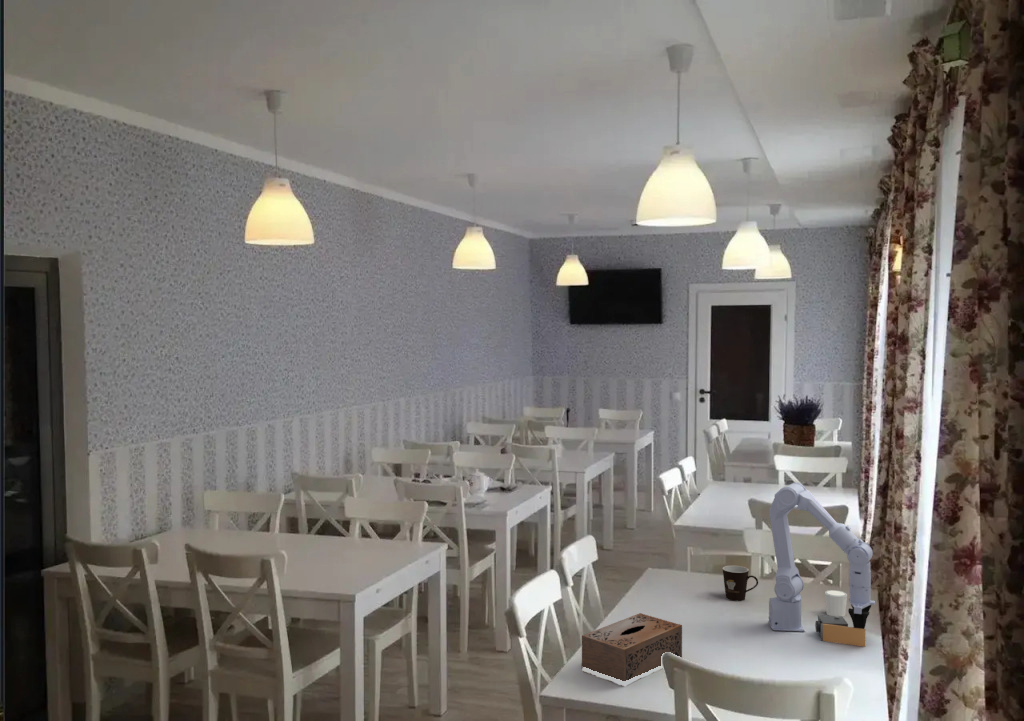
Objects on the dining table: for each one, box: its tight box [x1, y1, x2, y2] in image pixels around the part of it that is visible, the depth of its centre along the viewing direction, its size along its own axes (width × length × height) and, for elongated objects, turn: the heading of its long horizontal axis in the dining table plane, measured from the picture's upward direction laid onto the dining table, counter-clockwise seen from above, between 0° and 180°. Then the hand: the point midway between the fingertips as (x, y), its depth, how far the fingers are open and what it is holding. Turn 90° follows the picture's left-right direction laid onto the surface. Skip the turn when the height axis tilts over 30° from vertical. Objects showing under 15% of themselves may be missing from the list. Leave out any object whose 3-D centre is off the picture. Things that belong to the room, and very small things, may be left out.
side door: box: [820, 623, 866, 648], centre depth 253 cm, size 12×1×5 cm, turn 66°
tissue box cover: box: [581, 612, 683, 681], centre depth 238 cm, size 26×14×10 cm, turn 135°
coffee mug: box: [722, 565, 759, 602], centre depth 294 cm, size 12×9×10 cm
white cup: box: [824, 589, 848, 618], centre depth 278 cm, size 7×7×7 cm
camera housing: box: [814, 614, 849, 637], centre depth 259 cm, size 8×7×6 cm
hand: (859, 631), depth 255 cm, fingers open, 5 cm apart
